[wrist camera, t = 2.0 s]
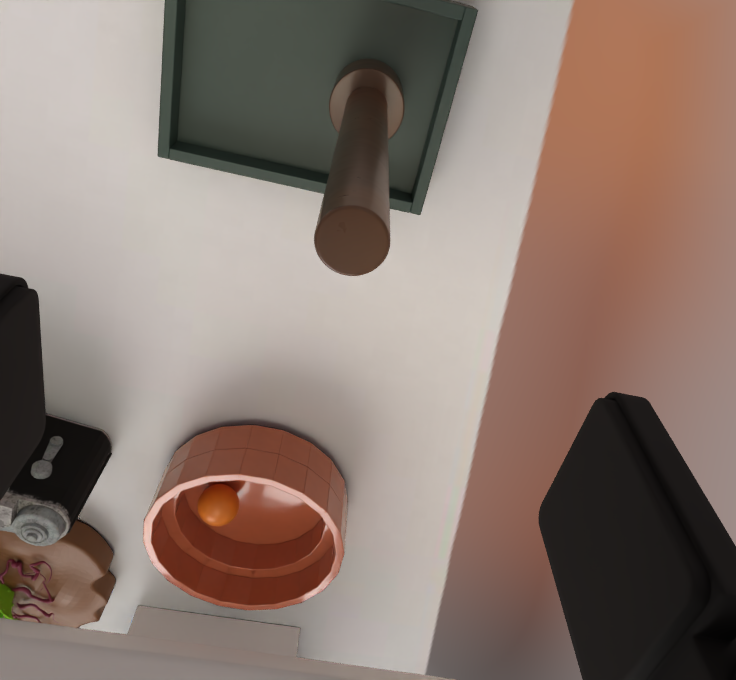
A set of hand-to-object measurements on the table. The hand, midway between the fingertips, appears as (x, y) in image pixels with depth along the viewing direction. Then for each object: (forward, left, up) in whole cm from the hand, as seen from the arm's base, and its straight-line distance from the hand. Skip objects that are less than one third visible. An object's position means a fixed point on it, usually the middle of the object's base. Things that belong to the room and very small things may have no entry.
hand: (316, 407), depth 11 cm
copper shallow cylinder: (+2, +30, -27) cm, 40 cm away
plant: (+23, +44, -27) cm, 56 cm away
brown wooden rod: (0, 0, -26) cm, 26 cm away
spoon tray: (+3, 0, -27) cm, 27 cm away
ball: (+4, +30, -24) cm, 39 cm away
